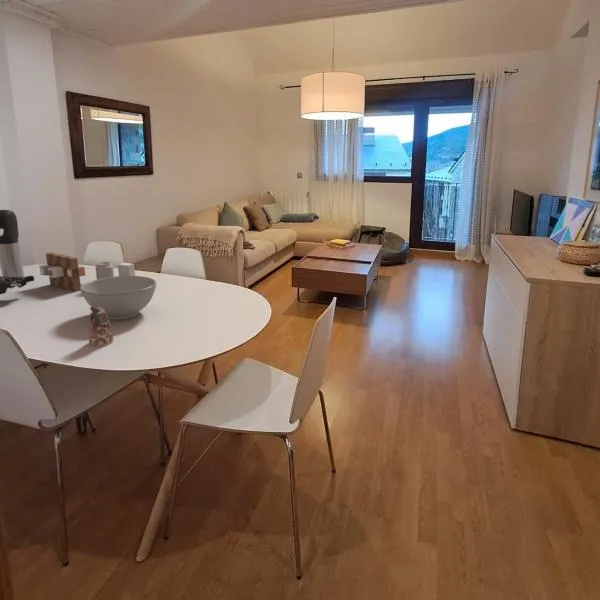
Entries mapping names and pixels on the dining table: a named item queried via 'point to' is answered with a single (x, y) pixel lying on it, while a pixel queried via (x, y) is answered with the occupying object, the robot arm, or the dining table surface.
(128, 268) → the skincare box
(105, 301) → the decorative bowl
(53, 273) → the key ivory
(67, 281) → the key panel
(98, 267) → the can
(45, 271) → the key slate
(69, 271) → the key terracotta
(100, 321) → the figurine
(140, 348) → the dining table surface
